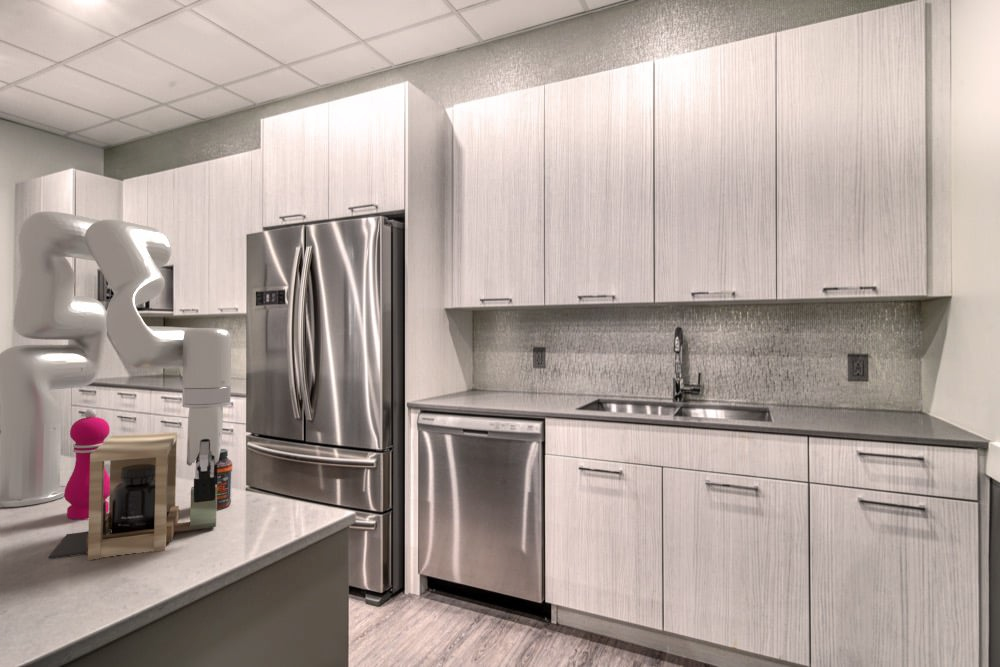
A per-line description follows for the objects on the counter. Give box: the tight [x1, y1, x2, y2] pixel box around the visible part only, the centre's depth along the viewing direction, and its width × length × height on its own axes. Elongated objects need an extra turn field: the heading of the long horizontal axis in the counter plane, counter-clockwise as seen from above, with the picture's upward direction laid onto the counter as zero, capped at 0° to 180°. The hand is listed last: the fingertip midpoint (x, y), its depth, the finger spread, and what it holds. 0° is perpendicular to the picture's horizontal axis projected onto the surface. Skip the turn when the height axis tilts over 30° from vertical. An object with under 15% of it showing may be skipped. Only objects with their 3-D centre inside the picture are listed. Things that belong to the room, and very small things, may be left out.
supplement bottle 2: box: [216, 448, 233, 510], centre depth 108 cm, size 6×6×11 cm
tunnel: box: [87, 431, 178, 561], centre depth 91 cm, size 16×10×16 cm, turn 26°
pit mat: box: [47, 531, 88, 559], centre depth 87 cm, size 10×5×1 cm, turn 26°
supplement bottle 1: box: [110, 464, 155, 534], centre depth 91 cm, size 7×7×12 cm
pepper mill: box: [63, 408, 111, 520], centre depth 102 cm, size 7×7×20 cm
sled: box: [86, 484, 217, 553], centre depth 92 cm, size 11×18×7 cm, turn 116°
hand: (206, 493), depth 95 cm, fingers open, 9 cm apart
